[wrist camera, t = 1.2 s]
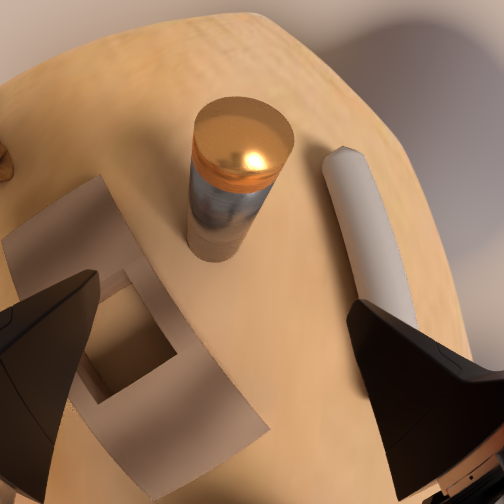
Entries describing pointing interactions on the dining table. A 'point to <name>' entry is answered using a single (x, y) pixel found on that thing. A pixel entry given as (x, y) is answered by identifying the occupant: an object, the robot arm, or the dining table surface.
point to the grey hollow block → (155, 382)
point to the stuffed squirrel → (5, 164)
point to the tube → (368, 234)
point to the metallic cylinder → (232, 172)
